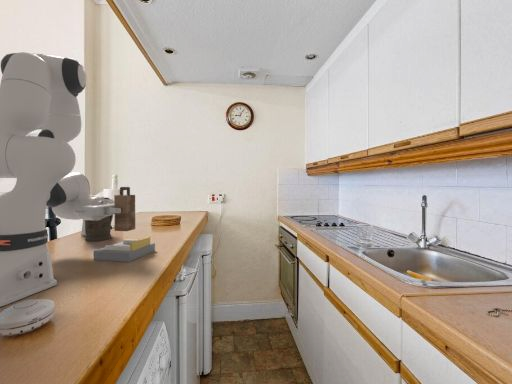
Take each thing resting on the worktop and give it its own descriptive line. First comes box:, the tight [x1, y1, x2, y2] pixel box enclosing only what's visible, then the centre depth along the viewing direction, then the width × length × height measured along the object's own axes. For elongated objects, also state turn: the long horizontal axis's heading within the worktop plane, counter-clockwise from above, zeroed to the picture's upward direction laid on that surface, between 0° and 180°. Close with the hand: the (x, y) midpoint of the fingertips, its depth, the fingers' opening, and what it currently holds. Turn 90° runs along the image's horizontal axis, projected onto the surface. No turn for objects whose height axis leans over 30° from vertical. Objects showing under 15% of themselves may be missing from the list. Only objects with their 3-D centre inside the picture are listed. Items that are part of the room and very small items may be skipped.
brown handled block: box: [113, 186, 136, 232], centre depth 105 cm, size 5×5×16 cm
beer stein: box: [84, 197, 114, 242], centre depth 136 cm, size 15×11×20 cm
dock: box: [93, 236, 156, 263], centre depth 106 cm, size 14×16×6 cm
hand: (127, 209), depth 105 cm, fingers closed on brown handled block, 5 cm apart
